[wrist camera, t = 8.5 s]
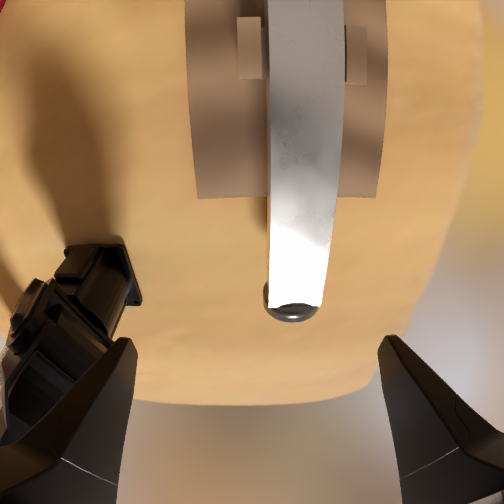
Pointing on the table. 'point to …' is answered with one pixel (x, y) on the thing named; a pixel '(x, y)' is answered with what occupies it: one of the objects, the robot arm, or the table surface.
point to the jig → (254, 96)
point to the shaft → (302, 149)
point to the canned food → (2, 3)
